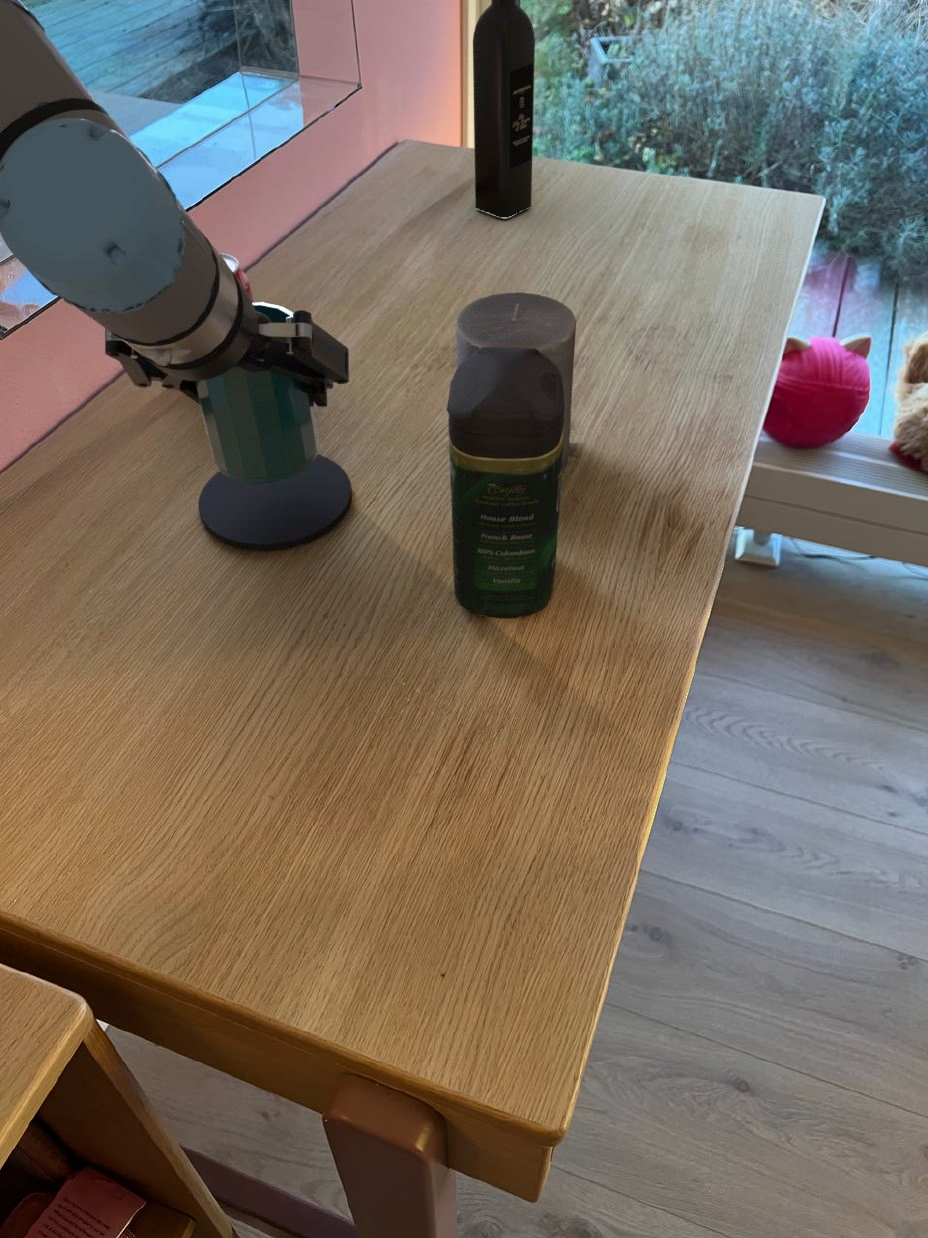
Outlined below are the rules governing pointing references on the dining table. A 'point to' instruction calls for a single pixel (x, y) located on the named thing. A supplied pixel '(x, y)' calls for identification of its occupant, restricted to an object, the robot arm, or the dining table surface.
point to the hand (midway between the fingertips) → (265, 390)
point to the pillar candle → (523, 335)
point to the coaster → (276, 508)
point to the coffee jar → (505, 479)
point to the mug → (259, 420)
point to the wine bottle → (503, 108)
